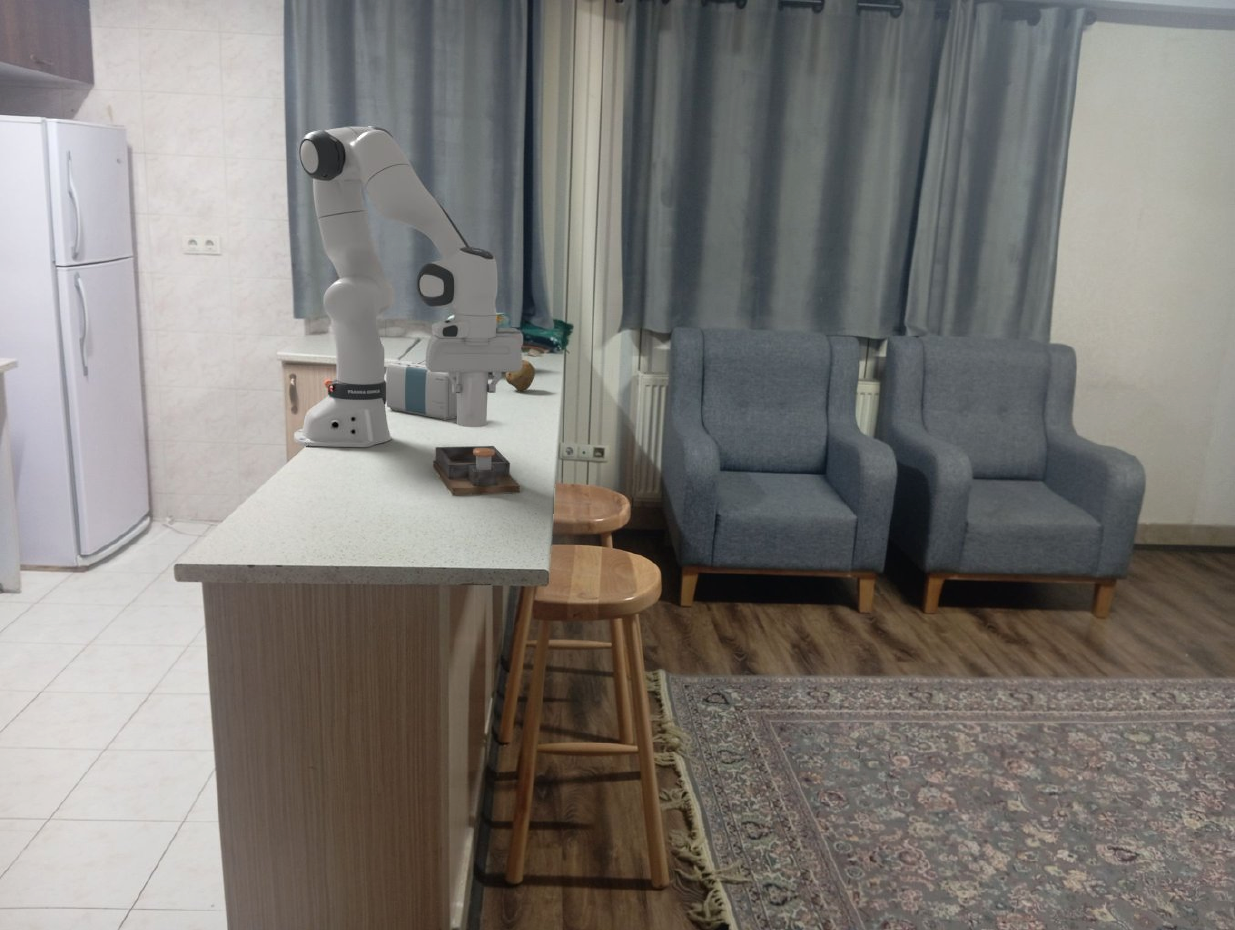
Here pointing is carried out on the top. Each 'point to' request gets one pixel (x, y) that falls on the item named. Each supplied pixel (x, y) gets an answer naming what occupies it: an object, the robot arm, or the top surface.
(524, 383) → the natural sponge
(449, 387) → the stereo radio cassette player
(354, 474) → the top surface
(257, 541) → the top surface
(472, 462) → the board
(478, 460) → the click button
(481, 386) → the mug
